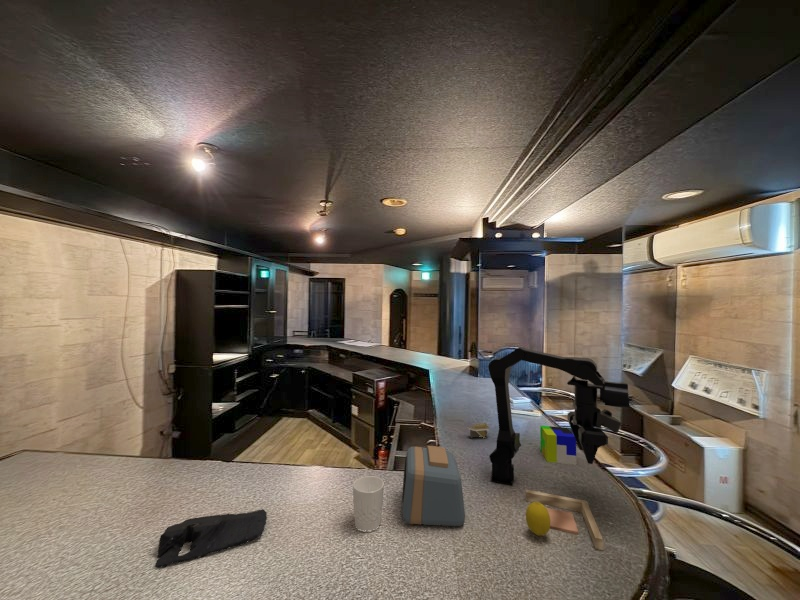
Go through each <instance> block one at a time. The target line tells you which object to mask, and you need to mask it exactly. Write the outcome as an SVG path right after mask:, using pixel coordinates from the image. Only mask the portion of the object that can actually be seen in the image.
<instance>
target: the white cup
mask: <svg viewBox="0 0 800 600" xmlns="http://www.w3.org/2000/svg"><path fill="white" fill-rule="evenodd" d="M384 485H385V483H384V480H383V479H382V478H380V477H378V476H373V475H365V476H362V477H359V478H356V479H355V480H354V482H353V483H352V492H353V493H352V495H353V499H352V500H353V517H354V519H353V520H354V521H353V522H355V523H354V527H355V526H356V527H357V528H358V529H361V530H364V531H365V530H366V531H368V530H373V529H376V528H377V527H378V526H379V525H380V526H381V524H382V513H383V502H384ZM380 523H381V524H380ZM358 529H357V530H358ZM376 530H377V529H376Z"/></svg>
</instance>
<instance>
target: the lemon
mask: <svg viewBox="0 0 800 600" xmlns="http://www.w3.org/2000/svg"><path fill="white" fill-rule="evenodd" d="M546 508H547V507H546V505H543V504H541V503H539V502H530V503H529V504H528V506H527V507H526V511H525V512H526V513H525V522H526V524H527V527H528V529H529V530H530V531H531V533H533V534H535V535H536V536H537V537H540V536H544V535H547V533H548V532H549V531H550V529H551V528H550V516H549V513H548V510H547V509H546Z"/></svg>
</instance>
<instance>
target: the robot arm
mask: <svg viewBox="0 0 800 600" xmlns="http://www.w3.org/2000/svg"><path fill="white" fill-rule="evenodd" d="M521 361H523V362H527V363H532V364H536V365H540V366H544V367H548V368H553V369H557V370H560V371H563V372H565V373H566V374H569V375H571V376H572V378H571V379H569V380H567V382H566V385H569V386H574V401H573V402H572V407H574V411H569V412H568V413H567V421H568V424H569V427H570V431H571V432H572V433H573V435H574V437H575V439H576V445H577V446H578V449H579V450H580V451H582V452H583V453H584V454H583V455H584V457H585V459H586V462H587V463H588V465H592V464H593V463H594V460H595V458H596V455H597V452H598V450H599V448H600V447H604V446H606V445H608V444H609V436H608V435H607V434H606V433H605V432H604V431H603V430H602V429H601V428H602V427H604V428H606V429H607V430H610V431H612V432H613V433H615V434H618V433H619V431H620V428H621V427H622V424H623V423H622V421H620V420H619V418H616V417H614V416H613V413H612V411H610V410H608V409H605V408H604V409H602V410H601V409H600V408H599V407H598V390H599V401H600V402H602V403H603V404H604V405H605V406H610V407H616V408H621V409H626V410H627V409H630V395H629V384H628V383H627V382H615V381H606V380H605V378H604V376H602V374H601V372H599V371H598V365H597V363H596V362H595V361H594V360H593V359H592V358H588V357H578V356H577V357H575V356H574V357H573V356H571V357H570V356H560V355H556V354H552V353H547V352H543V351H538V350H534V349H529V348H527V347H526V348H525V347H522V346H521V347H520V346H519V347H518V348H517V347H516V348H515V349H514V350H513V351H511V352H510V353H508V354H507V355H504V356H503V357H497V358H495V359H492V360H491V361H490V362H489V363H488V366H487V367H488V372H489V376H490V378H491V381H492V383H493V385H494V390H495V401H496V402H495V403H496V411H497V423H498V434H497V437H496V447H495V449H494V450H493V451H492V452H491V453H490V454H489V460H490V463H491V478H490V480H491V482H493V483H499V484H504V485H510V486H512V485H513V482H514V481H515V478H514V477H515V476H514V475H515V470H514V469H515V468H514V467H515V466H514V464H513V463H512V462H513V458H514V457H515V456H516V455H517V453H518V451H519V450H520V448H521V446H522V443H521V440H520V437H521V435H520V432H516V431H515V429H514V427H513V418H512V417H513V416H512V407H511V406H512V405H511V397H510V388H509V383H510V377H511V371H512V370H511V369H512V367H513V366H515V365H517V364H518V363H520V362H521ZM589 382H590V383H589Z"/></svg>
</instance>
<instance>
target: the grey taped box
mask: <svg viewBox="0 0 800 600" xmlns="http://www.w3.org/2000/svg"><path fill="white" fill-rule="evenodd" d="M401 507H402V509H401V510H402V511H401V515H402V520H403V522H405V524H407V523H408V524H407V525H413V524H420V525H421V524H424V525H423V526H440V525H442V526H443V527H444V526H445V527H461V526H462V525H464V523H465V520H466V511H465V501H464V493H463V484H462V478H461V473H460V469H459V467H458V464H457V460H456V458H455V455H454V454H453V453H452V452H451V451H450V450H446V449H445V447H443V446H435V445H427V447H420V446H410V447H409V448H407V452H406V455H405V461H404V469H403V483H402V506H401Z"/></svg>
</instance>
